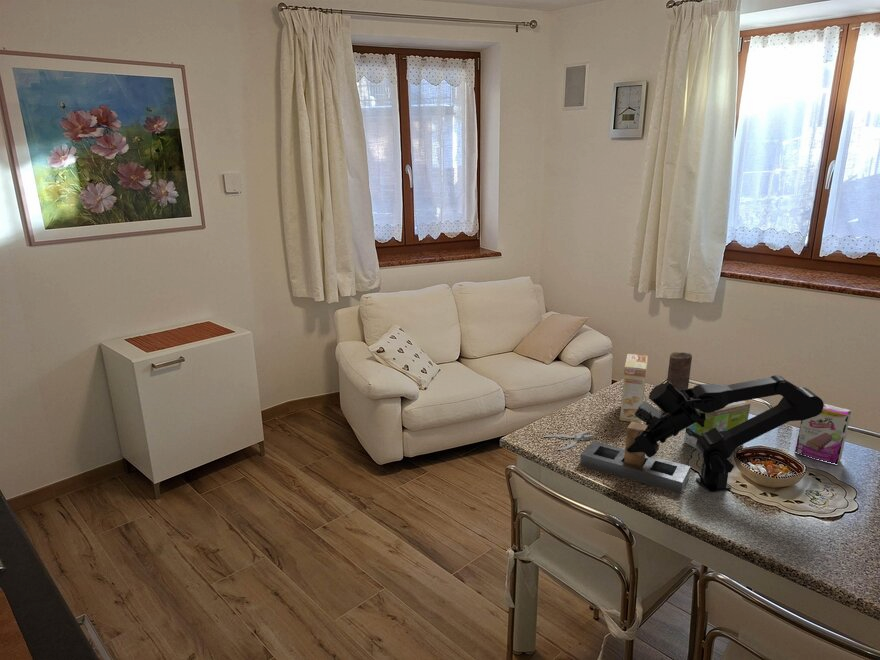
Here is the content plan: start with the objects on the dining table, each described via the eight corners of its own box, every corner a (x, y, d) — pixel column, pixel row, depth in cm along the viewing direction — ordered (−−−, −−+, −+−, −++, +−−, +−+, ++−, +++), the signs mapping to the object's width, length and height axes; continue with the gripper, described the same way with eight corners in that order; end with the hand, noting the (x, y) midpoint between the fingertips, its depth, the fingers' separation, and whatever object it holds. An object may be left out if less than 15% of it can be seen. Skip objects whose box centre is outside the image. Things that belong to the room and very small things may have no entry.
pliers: (541, 433, 188) (582, 426, 192) (541, 438, 188) (581, 431, 193) (557, 447, 179) (599, 439, 183) (557, 452, 179) (599, 444, 184)
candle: (683, 412, 205) (689, 358, 199) (661, 408, 209) (667, 354, 203) (687, 405, 211) (694, 352, 206) (666, 400, 215) (672, 349, 209)
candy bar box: (794, 454, 176) (803, 404, 172) (798, 448, 180) (807, 398, 175) (837, 467, 169) (848, 414, 164) (841, 460, 173) (852, 409, 168)
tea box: (708, 456, 175) (715, 411, 171) (683, 442, 184) (688, 398, 180) (744, 446, 181) (751, 402, 177) (717, 433, 190) (723, 390, 186)
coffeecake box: (641, 423, 197) (646, 369, 192) (619, 420, 200) (623, 366, 194) (643, 406, 210) (648, 355, 205) (622, 403, 213) (627, 352, 207)
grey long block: (689, 477, 164) (690, 466, 163) (680, 494, 156) (682, 482, 155) (591, 451, 179) (592, 440, 178) (579, 465, 171) (580, 454, 170)
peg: (643, 470, 168) (648, 425, 164) (639, 476, 165) (643, 431, 161) (627, 465, 171) (631, 421, 167) (623, 472, 167) (627, 427, 163)
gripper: (664, 385, 166) (622, 412, 175) (646, 408, 151) (601, 436, 160) (690, 417, 164) (646, 443, 173) (674, 444, 149) (627, 470, 158)
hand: (630, 447), depth 166 cm, fingers closed on peg, 4 cm apart
